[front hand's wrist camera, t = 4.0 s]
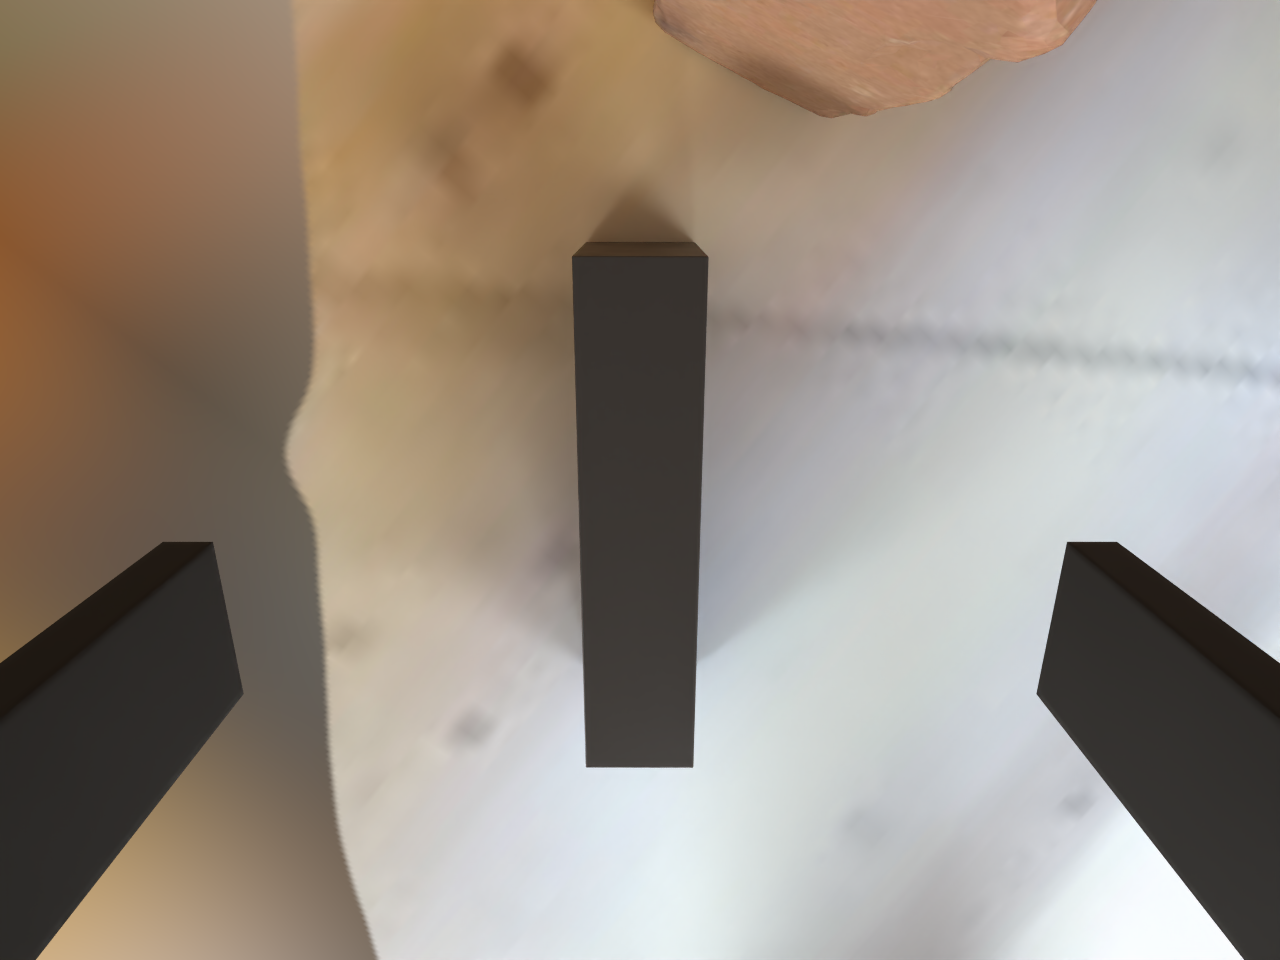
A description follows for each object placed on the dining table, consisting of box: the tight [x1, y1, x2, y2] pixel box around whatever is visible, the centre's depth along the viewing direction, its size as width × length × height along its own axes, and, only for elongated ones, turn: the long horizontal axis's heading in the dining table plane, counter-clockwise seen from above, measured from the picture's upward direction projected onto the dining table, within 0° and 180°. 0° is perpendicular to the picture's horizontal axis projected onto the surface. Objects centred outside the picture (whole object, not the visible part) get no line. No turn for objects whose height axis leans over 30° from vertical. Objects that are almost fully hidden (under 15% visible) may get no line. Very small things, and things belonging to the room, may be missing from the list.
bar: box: [572, 242, 708, 768], centre depth 43 cm, size 27×6×9 cm, turn 0°
